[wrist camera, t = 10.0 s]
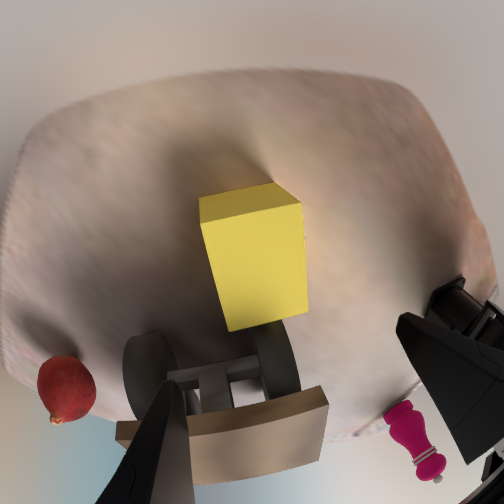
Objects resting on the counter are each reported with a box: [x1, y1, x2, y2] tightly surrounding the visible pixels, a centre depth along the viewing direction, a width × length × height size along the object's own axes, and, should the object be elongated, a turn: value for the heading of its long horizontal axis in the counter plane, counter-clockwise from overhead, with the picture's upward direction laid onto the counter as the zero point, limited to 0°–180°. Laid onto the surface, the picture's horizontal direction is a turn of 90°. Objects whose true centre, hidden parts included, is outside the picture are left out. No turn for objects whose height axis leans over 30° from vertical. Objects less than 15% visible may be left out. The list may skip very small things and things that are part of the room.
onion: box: [37, 356, 96, 425], centre depth 17 cm, size 6×6×8 cm
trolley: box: [115, 319, 329, 485], centre depth 20 cm, size 13×16×10 cm
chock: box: [199, 182, 308, 332], centre depth 17 cm, size 5×7×5 cm
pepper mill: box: [384, 400, 446, 483], centre depth 32 cm, size 7×7×20 cm
